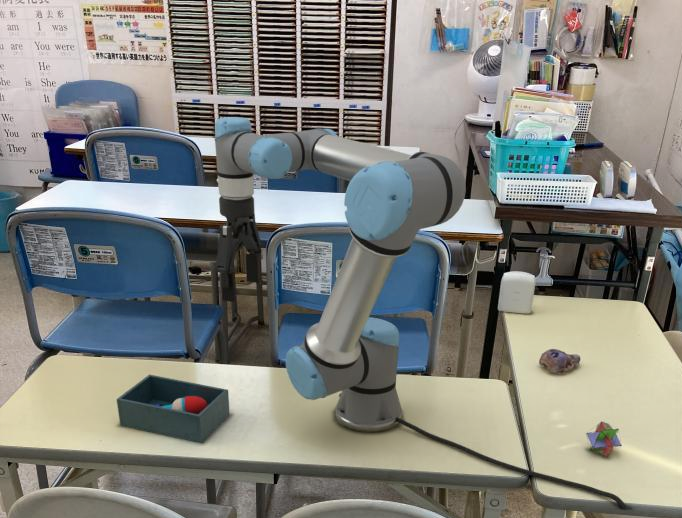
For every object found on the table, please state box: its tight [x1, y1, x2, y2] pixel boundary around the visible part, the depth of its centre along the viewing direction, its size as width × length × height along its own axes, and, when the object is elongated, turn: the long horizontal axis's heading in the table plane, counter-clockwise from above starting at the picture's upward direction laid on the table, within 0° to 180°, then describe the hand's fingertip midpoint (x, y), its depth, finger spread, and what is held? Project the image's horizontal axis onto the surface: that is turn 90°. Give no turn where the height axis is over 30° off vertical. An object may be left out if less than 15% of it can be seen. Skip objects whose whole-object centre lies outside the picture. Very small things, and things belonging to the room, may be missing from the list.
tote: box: [116, 374, 231, 444], centre depth 172 cm, size 20×13×7 cm, turn 71°
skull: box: [538, 348, 581, 375], centre depth 201 cm, size 12×8×6 cm, turn 107°
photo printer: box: [497, 270, 536, 315], centre depth 233 cm, size 10×4×12 cm, turn 78°
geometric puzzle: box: [585, 420, 623, 459], centre depth 165 cm, size 7×7×8 cm
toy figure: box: [155, 396, 207, 414], centre depth 173 cm, size 8×5×15 cm
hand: (241, 291), depth 176 cm, fingers open, 13 cm apart
